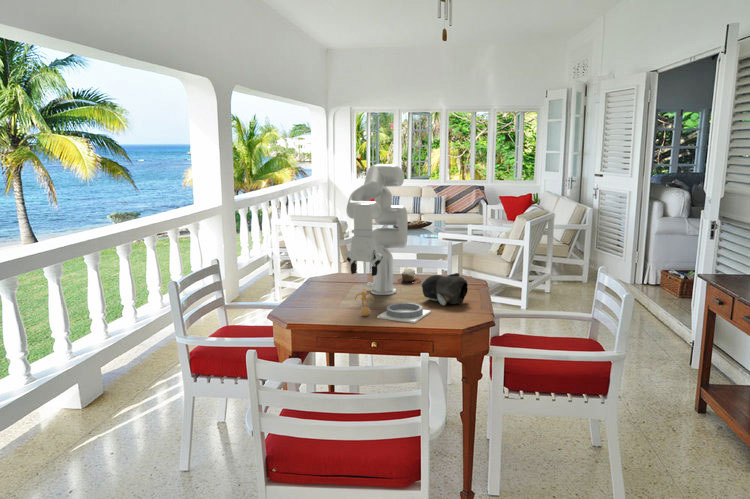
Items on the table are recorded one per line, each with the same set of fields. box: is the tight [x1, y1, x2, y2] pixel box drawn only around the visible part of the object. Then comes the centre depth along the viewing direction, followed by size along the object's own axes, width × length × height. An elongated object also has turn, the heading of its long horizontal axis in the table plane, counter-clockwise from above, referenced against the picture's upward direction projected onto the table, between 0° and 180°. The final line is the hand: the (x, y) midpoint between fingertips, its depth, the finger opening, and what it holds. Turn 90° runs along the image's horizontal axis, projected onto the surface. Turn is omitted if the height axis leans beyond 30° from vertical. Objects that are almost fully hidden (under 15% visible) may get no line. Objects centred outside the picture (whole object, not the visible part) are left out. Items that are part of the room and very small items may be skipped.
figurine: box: [354, 288, 375, 317], centre depth 238 cm, size 8×6×12 cm
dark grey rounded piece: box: [421, 272, 469, 306], centre depth 259 cm, size 20×21×13 cm
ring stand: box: [376, 302, 432, 324], centre depth 240 cm, size 17×17×3 cm
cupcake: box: [397, 266, 422, 284], centre depth 302 cm, size 12×10×10 cm
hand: (364, 274), depth 236 cm, fingers open, 9 cm apart
